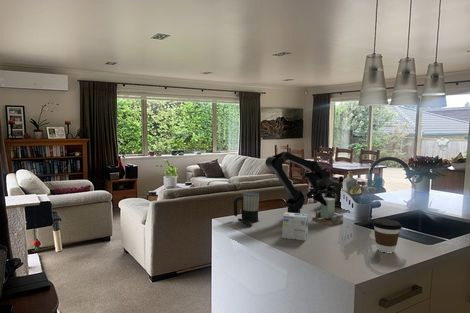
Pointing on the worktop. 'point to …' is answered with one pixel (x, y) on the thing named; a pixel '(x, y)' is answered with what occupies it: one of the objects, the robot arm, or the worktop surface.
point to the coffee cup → (386, 234)
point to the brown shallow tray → (330, 221)
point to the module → (328, 208)
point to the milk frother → (247, 207)
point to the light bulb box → (295, 226)
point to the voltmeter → (338, 186)
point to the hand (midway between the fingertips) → (329, 205)
